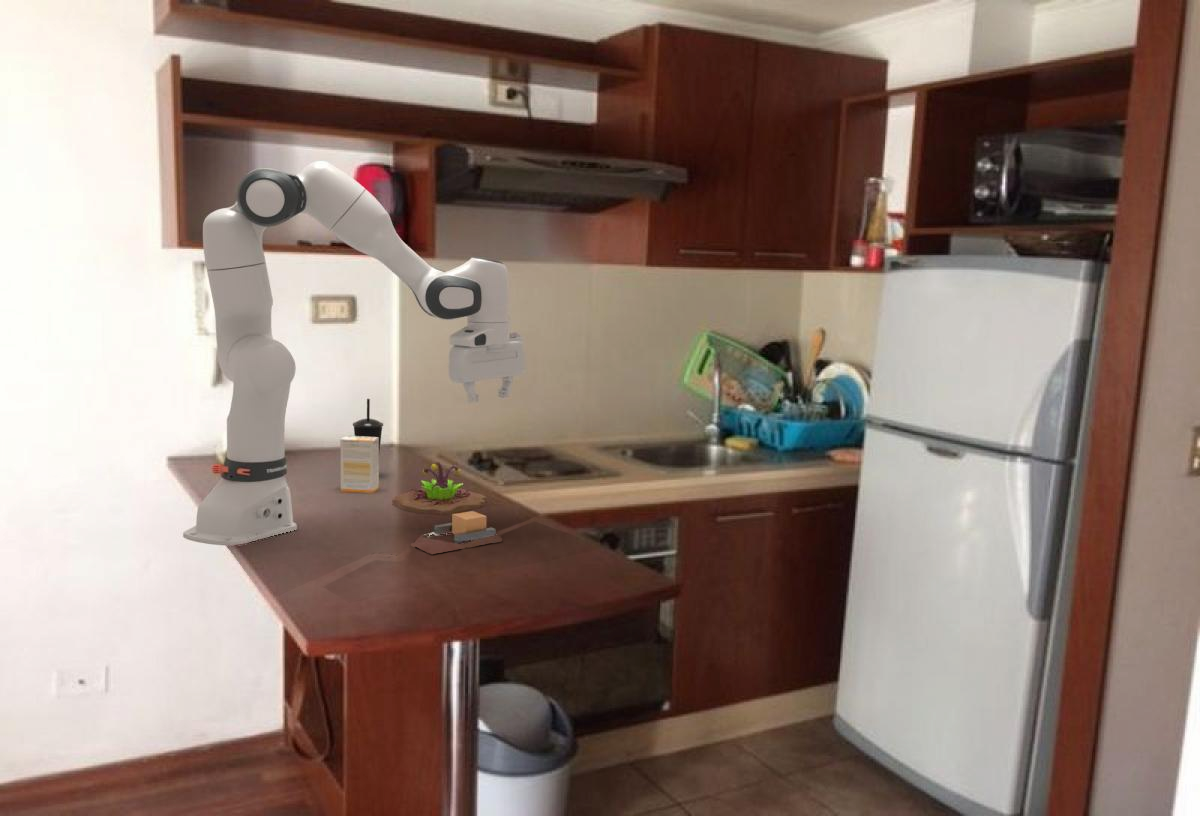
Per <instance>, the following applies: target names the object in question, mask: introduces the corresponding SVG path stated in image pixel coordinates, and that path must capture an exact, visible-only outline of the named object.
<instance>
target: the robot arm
mask: <svg viewBox="0 0 1200 816" xmlns="http://www.w3.org/2000/svg"><path fill="white" fill-rule="evenodd" d="M300 213H301V214H307V215H308V216H310V217H312V218H313V219H315V220H316V221H317V222H318V223H320V224H321V225H322V227H324V228H325V229H327V230H328V232H330V233H331V234H332V235H334V236H335V237H336V238H337V239H338V240H340V241H342V242H343V243H345V244H346V245H347V246H349V247H351V248H352V249H354V250H357V251H358V252H360V253H362V254H364V255H367V256H370V257H372V258H374V259H375V260H378V261H379V262H380V263H381V264H383V265H384V266H386V268H387V269H389V270H390V271H391V272H392V273H393V274H394V275H396V276H397V278H399V279H400V280H401V281H402V282H403V283H405V284H406V286H408V288H409V289H410V290H411V291H412V293H413V295H414V297H415V300H416V302H417V304H418V305H419V307H420V309H422V311H423V312H425V314H427V315H428V316H430V317H433V318H438V319H440V320H443V321H453V320H456V319H459V318H464V317H466V318H467V325H466V326H464V327H463V328H461V329H460V330H457V331H455V332H454V333H452V334H450V335H449V338H448V339H449V345H452V347H451V348H450V350H449V352H448V353H449V354H448V377H449V380H450V381H452V382H453V383H457V384H462V385H463V386H462V387H463V389H464V391H465V392H466V394H467V402H468V403H469V404H470V403H471V404H475V403H478V402H479V395H480V394H479V393H476V391H475V388H474V387H476V382H480V381H486V380H488V381H489V380H494V379H499V378H500V379H501V381H502V384H501V386H500V387H501V388H499V389H498V391H497V392H498V397H499V398H501V399H503V398H505V399H506V398H508V397H510V388H511V386H512V384H513V382H514V376H520V375H523V374H524V373H525V372H526V357H525V354H526V353H525V348H524V345H523V338H522V336H521V335H520V334H518V332H511V333H510V329H511V328H510V326H511V324H510V317H509V316H510V315H509V311H508V309H509V304H510V302H511V301H510V300H511V299H510V297H511V296H510V279H509V272H508V268H507V266H506V265H505V264H504V263H503V262H502V261H501V260H497V259H493V258H490V257H489V258H487V257H482V256H472V257H471V258H470V259H469V260H468V261H466V262H464V263H462V264H461V265H459V266H456V267H455V268H453V269H450V270H447V271H446V270H441V269H439V268H436V267H434V266H432V265H430V264H429V263H427V262H426V261H425V260H424V259H423V258H422V257H421V256H419V254H417V253H416V252H415V251H414V250H413V249H412V248H411V247H410V246H409V245H408V244H406V243H405V242H404V241H403V240H402V238H401V237H400V236H399V234H398V233H397V231H396V228H395V227H394V225H393V222H392V219H391V217H390V215H389V212H388V211H387V210H386V209H385V208H384V206H383V205H382V204H381V203H380V202H379V201H378V199H377V198H376V197H375V196H374V195H373V194H372V193H371V192H370V191H368V190H367V189H366V188H365V187H364V186H362V184H361V183H359V182H358V181H357V180H356V179H354V178H353V177H352V176H350V175H349V174H347V173H346V172H345V171H344V170H342V169H340V168H338V167H337V166H335V165H334V164H331V162H329V161H325V160H315V161H312V162H311V163H308V164H307V165H306V166H305V167H303V168H302V169H301V171H299V172H298V173H296V174H292V173H287V172H284V171H282V170H280V169H277V168H274V167H268V166H265V167H264V166H263V167H259V168H258V167H257V168H255V169H253V170H251V171H249V172H248V173H246V175H245V176H244V177H243V178H242V179H241V180H240V182H239V184H238V186H237V189H236V201H235V203H234V204H233V205H231V206H228V207H223V208H219V209H216V210H214V211H213V212H210V213H209V214H208V215H207V216H206V217H205V218H204V221H203V223H202V246H203V255H204V262H205V268H206V272H207V278H208V283H209V287H210V293H211V297H212V303H213V308H214V315H215V316H214V319H215V337H216V347H217V363H218V366H219V369H220V370H221V373H222V374H223V375H224V376H225V378H227V380H228V381H231V383H232V384H233V388H232V390H233V391H232V397H231V403H230V408H229V413H228V416H227V418H226V457H225V458H224V460H223V463H222V464H221V463H217V462H215V463H213V464H212V467H211V471H212V473H213V474H219V475H220V477H221V478H220V480H219V481H218V482H217V483H216V484H215V486H214V487H213V489H211V491H209V493H208V494H207V495H206V497H205V498H204V499H203V500H202V501H201V502H200V504H199V505H198V507H197V513H196V525H195V526H193V527H191V528H189V529H186V530H184V531H183V533H182V538H184V539H185V540H188V541H191V542H196V543H200V544H206V545H207V544H208V545H217V546H227V547H228V546H230V547H231V546H233V545H236V544H243V543H247V542H251V541H255V540H258V539H262V538H266V537H270V536H273V537H275V536H274V535H277V536H279V535H278V534H281V535H283V534H282V533H284V534H287V533H286V532H288V533H290V531H291V532H295V531H297V530H298V524H297V523H296V522H294V518H293V517H294V516H293V507H292V506H293V505H292V496H291V489H290V487H289V485H288V483H287V479H286V475H287V474H288V460H287V456H286V455H285V435H286V434H285V425H286V424H285V423H286V422H285V421H286V420H285V419H286V411H287V406H288V401H289V395H290V392H291V391H290V390H291V384H292V381H293V379H294V378H295V374H296V362H295V359H294V357H293V355H292V354H291V352H290V350H289V349H288V348H287V347H286V346H285V345H284V344H283V343H282V342H280V341H279V340H276V339H274V338H273V334H272V333H273V332H272V331H273V330H272V307H273V304H274V298H273V293H272V288H271V283H270V277H269V273H268V267H267V262H266V258H265V252H264V247H263V234H264V232H265V230H266V229H267V228H270V227H271V228H272V227H276V226H279V225H282V224H284V223H286V222H287V221H289V220H291V219H292V218H294V217H296V216H297V215H299V214H300ZM294 530H295V531H294ZM270 538H271V537H270ZM266 539H267V538H266Z"/></svg>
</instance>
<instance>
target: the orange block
mask: <svg viewBox="0 0 1200 816" xmlns="http://www.w3.org/2000/svg"><path fill="white" fill-rule="evenodd" d="M451 517H452V518H451V519H452V520H451V523H452V533H453V535H454V534H457V533H462V532H468V531H474V530H479V529H485V528H487V515H485V514H482V513H479V512H476V511H474V510H468V511H463V512H457V513H453V514H451Z"/></svg>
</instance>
